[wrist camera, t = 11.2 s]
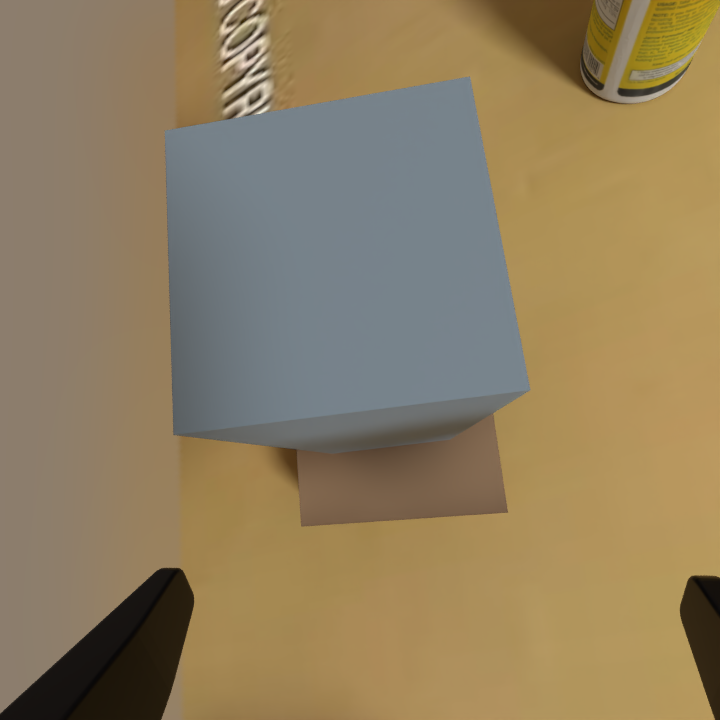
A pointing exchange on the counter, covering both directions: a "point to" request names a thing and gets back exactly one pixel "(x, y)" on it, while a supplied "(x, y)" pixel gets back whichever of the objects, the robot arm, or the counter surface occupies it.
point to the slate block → (339, 275)
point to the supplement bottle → (642, 46)
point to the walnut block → (404, 480)
